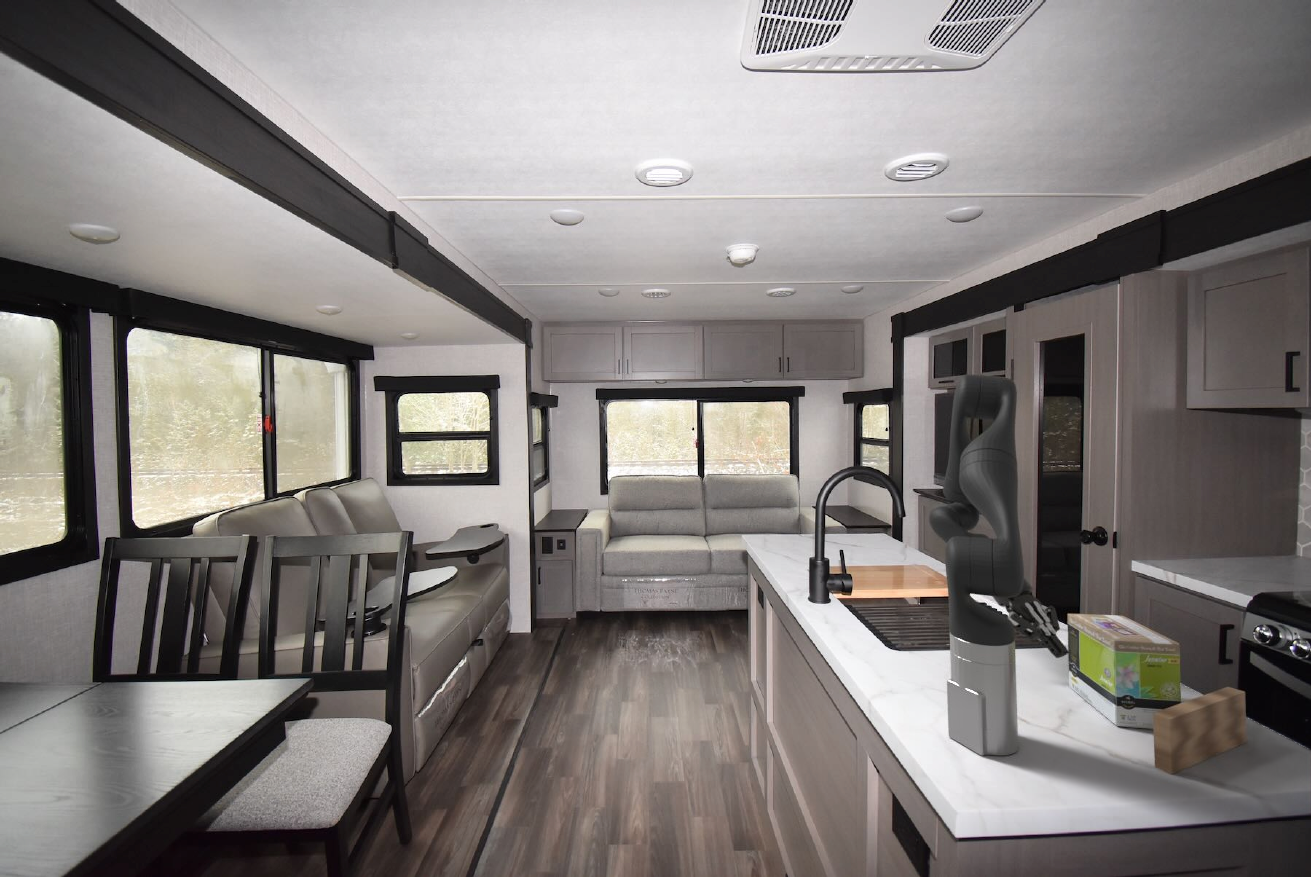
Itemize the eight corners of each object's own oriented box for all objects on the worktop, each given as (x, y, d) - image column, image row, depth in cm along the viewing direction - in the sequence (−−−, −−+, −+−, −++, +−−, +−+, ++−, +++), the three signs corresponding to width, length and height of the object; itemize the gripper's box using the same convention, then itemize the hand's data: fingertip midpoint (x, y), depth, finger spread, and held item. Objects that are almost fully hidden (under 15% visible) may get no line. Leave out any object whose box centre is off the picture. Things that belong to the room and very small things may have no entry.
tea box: (1185, 732, 89) (1182, 642, 89) (1115, 727, 91) (1112, 640, 91) (1126, 689, 104) (1123, 613, 104) (1066, 686, 106) (1064, 611, 106)
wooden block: (1171, 774, 79) (1169, 719, 79) (1154, 766, 81) (1153, 713, 81) (1246, 742, 86) (1245, 691, 86) (1229, 735, 88) (1228, 686, 88)
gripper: (991, 573, 113) (1054, 653, 102) (1034, 566, 118) (1099, 641, 107) (969, 592, 118) (1027, 670, 107) (1011, 584, 123) (1071, 658, 112)
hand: (1063, 655), depth 107 cm, fingers closed
